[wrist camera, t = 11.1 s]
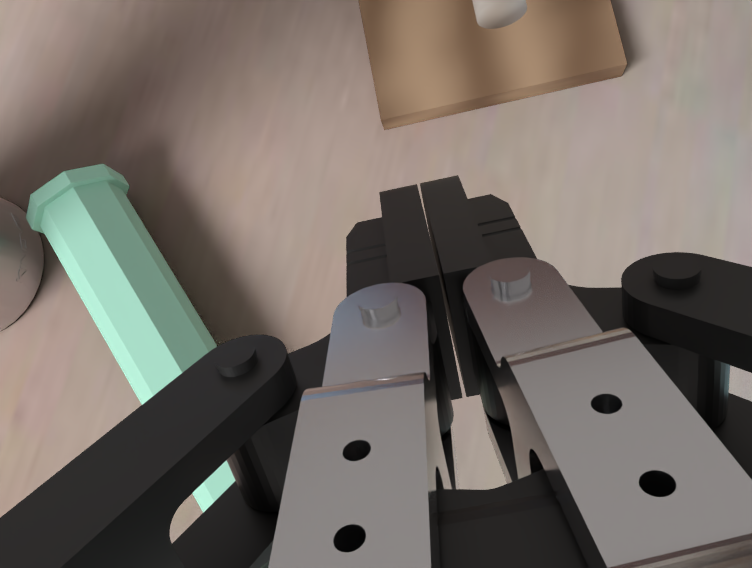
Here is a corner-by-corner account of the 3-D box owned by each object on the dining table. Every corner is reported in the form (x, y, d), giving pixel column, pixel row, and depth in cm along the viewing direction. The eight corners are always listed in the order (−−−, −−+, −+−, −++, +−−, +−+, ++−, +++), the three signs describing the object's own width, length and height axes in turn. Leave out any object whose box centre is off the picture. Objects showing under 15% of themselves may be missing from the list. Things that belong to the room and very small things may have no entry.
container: (365, 529, 37) (141, 167, 41) (307, 581, 31) (58, 159, 36) (292, 573, 39) (89, 226, 44) (227, 628, 34) (4, 227, 39)
